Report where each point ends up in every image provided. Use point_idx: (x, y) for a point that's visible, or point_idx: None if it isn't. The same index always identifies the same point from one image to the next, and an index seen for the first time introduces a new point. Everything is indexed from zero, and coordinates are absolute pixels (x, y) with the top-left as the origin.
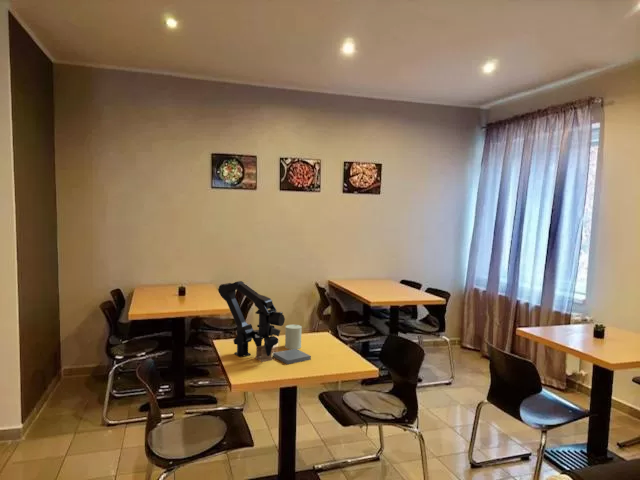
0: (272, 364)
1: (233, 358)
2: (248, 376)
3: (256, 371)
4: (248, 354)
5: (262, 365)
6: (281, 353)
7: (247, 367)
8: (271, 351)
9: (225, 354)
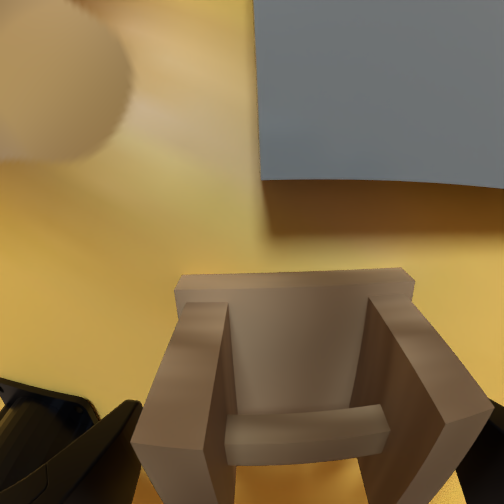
0: (496, 330)
1: (146, 497)
2: None
3: None
4: (93, 425)
5: None
6: (395, 55)
7: None
8: (458, 362)
9: None
